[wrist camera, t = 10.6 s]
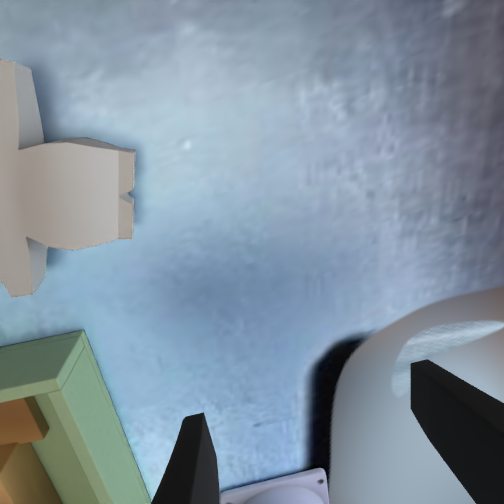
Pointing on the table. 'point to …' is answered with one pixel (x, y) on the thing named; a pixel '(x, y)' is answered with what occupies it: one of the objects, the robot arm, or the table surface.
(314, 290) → the table surface
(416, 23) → the table surface
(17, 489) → the spatula
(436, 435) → the robot arm
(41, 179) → the bunny figurine
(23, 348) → the bin
